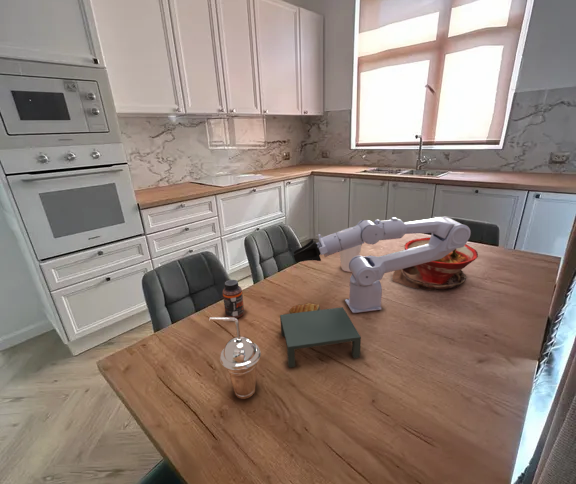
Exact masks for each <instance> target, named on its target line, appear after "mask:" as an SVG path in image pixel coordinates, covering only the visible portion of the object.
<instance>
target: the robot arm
mask: <svg viewBox="0 0 576 484" xmlns="http://www.w3.org/2000/svg"><path fill="white" fill-rule="evenodd" d="M471 232H472V231H471V229H470V227H469V226H468V225H466V224H462V223H460V222H459V221H456V220H454V219H453V218H452V217H449V216H442V217H441V216H436V217H432V218H426V219H419V220H413V221H411V220H410V221H405V222H404V221H403V220H402V219H400V218H397V217H396V216H393V217H390V219H384V220H380V219H375V220H374V221H372V220H369V219H361V220H359V221H358V222H357V224H356V225H354V226H351V227H348V228H344V229H342V230H339V231H336V232H333V233H330V234H327V235H325V236H322V234H320V233H317V237H318V242H316V240H315V241H314V239H313V238H312V239H311V240H309V241H308V242H307V243H306V244H305V245H303V246H302V247H301V246H300V247H299V248H297V249H296V250H294V251H293V258H294V262H295V263H302V262H308V261H315V262H316V261H317V262H321V261H322V259H321V256H324V258H328V257H329V256H332V255H334V254H337V253H339V252H340V251H343V250H346V249H349V248H352V247H355V246H358V245H361V244H362V245H363V244H368V245H373V246H374V245H376V244H377V243H379V242H380V241H388V240H397V239H398V240H400V239H402V238H403V237H404V236H405V235H410V234H412V235H413V234H431V235H430V237H431V238H430V241H429V243H428V244H425V245H421V246H418V247H414V248H410V249H406V250H405V249H403V250H399V251H395V252H390V253H388V254H384V255H380V256H376V255H371V254H370V255H365V256H364V255H360V256H355V257H353V258H352V259H351V260H350V262H349V269H350V271H351V272H350V273H351V275H350V278H349V295H348V296H349V297H348V298H345V299H344V303H346V306H348V308H349V309H350V311H351V313H353V314H357V313H359V314H360V313H366V312H374V311H381V310H382V309H383V308H382V296H383V294H382V293H383V288H382V287H383V286H382V283H381V280H382V279H383V277H384V275H386V274H387V273H392V272H394V271H396V270H400V269H404V268H407V267H411V266H415V265H419V264H423V263H427V262H431V261H434V260H438V259H441V258H443V257H445V256H446V255H447V254H449V253H450V252H452V251H453V250H455V249H457V248H461V247H464V246H465V244H467V243H468V241H469V240H470V237H471V234H472V233H471Z"/></svg>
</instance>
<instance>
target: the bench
mask: <svg viewBox="0 0 576 484" xmlns="http://www.w3.org/2000/svg"><path fill="white" fill-rule="evenodd" d="M279 321H280V334H281V337H284V339H285V344H286V353H287V365H288V368H289V369H290V368H295V367H296V352H295V351H296V350H301V349H306V348H307V349H308V348H314V347H323V346H329V345H337V344H343V343H351V356H352V358H353V359H358V358H360V357H361V344H362V343H361V342H362V336H361V334H360V333H359V331H358V330H357V328H356V326H355V325H354V323H353V322H352V320H351V318H350V317H349V315H348V314H347V312H346V310H345V308H344V307H343V306H341V307H332V308H324V309H320V310H315V311H307V312H299V313H291V314H290V313H284V314H279Z"/></svg>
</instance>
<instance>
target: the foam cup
mask: <svg viewBox="0 0 576 484" xmlns="http://www.w3.org/2000/svg"><path fill="white" fill-rule="evenodd" d="M362 246H363V244H361V245H358V246H355V247H352V248H349V249H346V250H343V251H340V252H338V253H339V261H340V269H341V270H342V271H344V272H347V273H348V272H349V273H352V272H351V271H350V269H349V262H350V260H351V259H352V258H353V257H355V256H361V251H362Z"/></svg>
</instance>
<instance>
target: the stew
mask: <svg viewBox="0 0 576 484" xmlns="http://www.w3.org/2000/svg"><path fill="white" fill-rule="evenodd" d="M430 238H431V236H430V237H422V238H415V239H411V240H409V241H407V242H405V244H404V250H406V249H410V248H414V247H418V246H421V245H425V244H428V243H429V241H430ZM478 257H479V253H478V251H477V249H475V248H473V247H472V246H469V245H468V244H467V243H466V244H465V246H464V247H461V248H457V249H455V250H453V251H452V252H450V253H449V254H447V255H446V256H445V257H443V258H441V259H438V260H434V261H431V262H427V263H423V264H419V265H415V266H411V267H407V268H404V269H400V270H396V271H393V274H392V282H395V283H399V284H401V285H403V286H406V287H409V288H412V289H415V290H416V289H417V290H421V289H422V290H426V291H443V292H444V291H450V290H454V289H457V288H458V287H459V286H460V285H461V284H463V283H465V281H466V280H467V275H466V274H465V273H464V271H463V269H465V268H466V267H467V266H468V265H470V264H471V263H473V262H474V261H475V260H476V259H477V258H478ZM449 280H451V282H452V283H451V284H449Z"/></svg>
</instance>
